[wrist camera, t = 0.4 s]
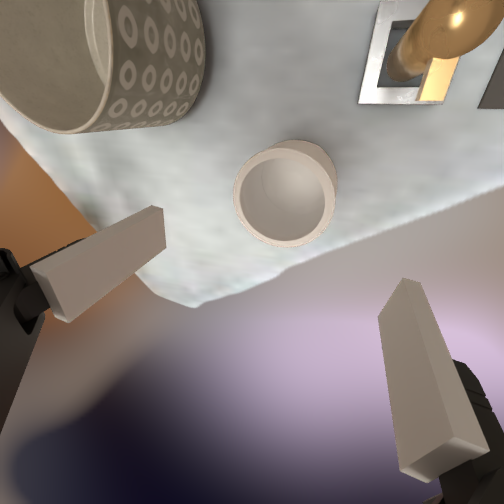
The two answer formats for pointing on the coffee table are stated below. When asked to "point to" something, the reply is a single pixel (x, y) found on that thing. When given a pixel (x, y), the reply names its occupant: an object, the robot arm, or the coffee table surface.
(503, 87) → the pad
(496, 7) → the hook peg
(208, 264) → the coffee table surface
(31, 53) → the planter
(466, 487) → the robot arm
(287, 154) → the jar
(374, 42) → the eye block
